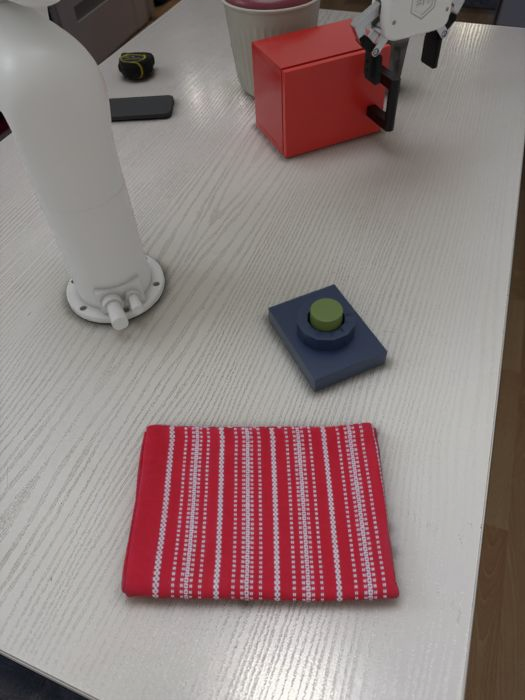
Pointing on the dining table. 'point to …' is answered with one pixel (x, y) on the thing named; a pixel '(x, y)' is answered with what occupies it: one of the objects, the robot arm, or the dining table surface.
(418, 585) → the dining table surface
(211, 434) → the dish towel
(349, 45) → the cabinet
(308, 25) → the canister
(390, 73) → the door
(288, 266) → the dining table surface
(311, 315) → the button
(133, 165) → the dining table surface
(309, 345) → the panel
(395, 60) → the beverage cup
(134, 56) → the tape measure
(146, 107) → the phone
